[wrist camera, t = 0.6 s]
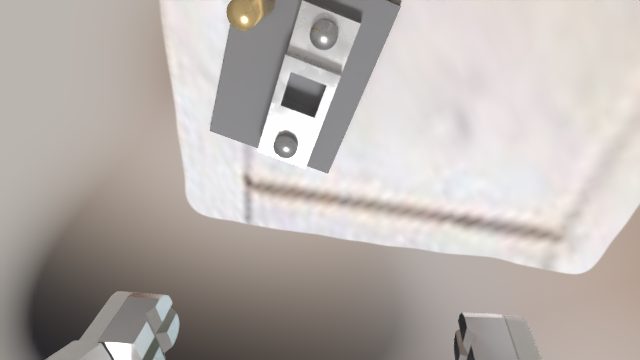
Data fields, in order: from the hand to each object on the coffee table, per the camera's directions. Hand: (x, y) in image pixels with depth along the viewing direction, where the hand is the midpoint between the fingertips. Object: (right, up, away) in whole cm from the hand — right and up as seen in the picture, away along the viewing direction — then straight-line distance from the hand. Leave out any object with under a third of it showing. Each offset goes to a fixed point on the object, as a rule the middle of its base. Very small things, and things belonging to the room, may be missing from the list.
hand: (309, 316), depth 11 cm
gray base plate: (-3, +17, +38) cm, 42 cm away
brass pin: (-6, +24, +33) cm, 41 cm away
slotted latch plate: (-1, +16, +39) cm, 42 cm away
